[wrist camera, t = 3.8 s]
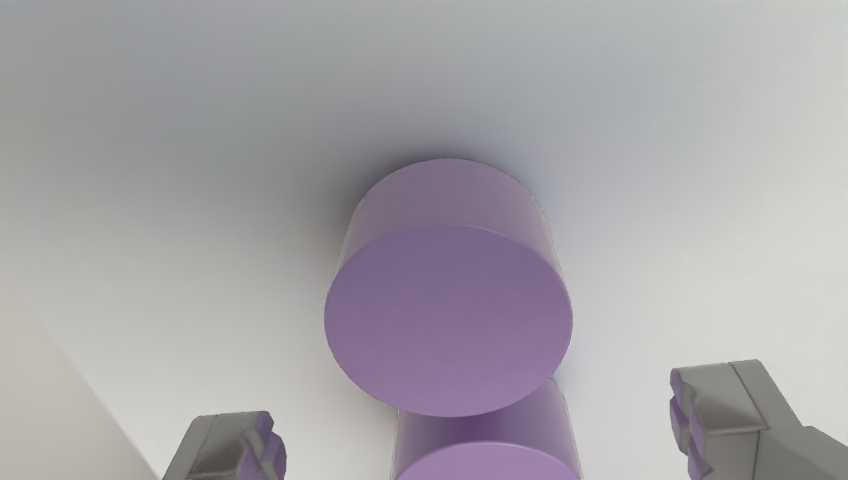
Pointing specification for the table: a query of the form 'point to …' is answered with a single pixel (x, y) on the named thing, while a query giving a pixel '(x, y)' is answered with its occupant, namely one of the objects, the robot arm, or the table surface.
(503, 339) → the lavender round puck
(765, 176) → the table surface
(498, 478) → the lilac cylinder puck
